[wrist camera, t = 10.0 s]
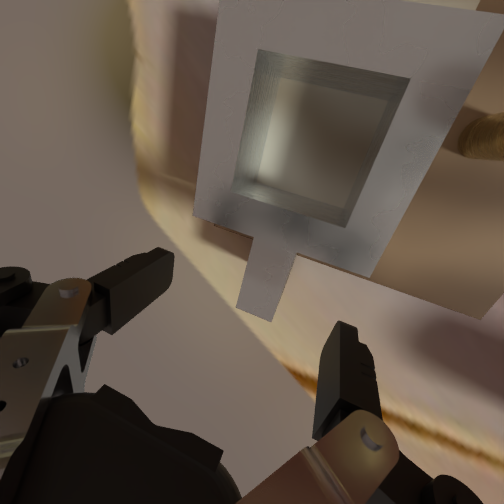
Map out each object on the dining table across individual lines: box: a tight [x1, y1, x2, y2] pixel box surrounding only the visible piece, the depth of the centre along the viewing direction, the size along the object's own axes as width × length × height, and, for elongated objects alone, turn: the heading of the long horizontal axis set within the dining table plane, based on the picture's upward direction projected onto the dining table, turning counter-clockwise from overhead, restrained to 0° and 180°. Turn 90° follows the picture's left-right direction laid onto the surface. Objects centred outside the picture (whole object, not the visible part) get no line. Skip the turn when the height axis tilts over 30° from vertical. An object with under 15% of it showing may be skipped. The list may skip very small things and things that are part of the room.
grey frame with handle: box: [193, 0, 504, 322], centre depth 14 cm, size 15×10×4 cm, turn 166°
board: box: [214, 0, 504, 320], centre depth 14 cm, size 16×19×1 cm
